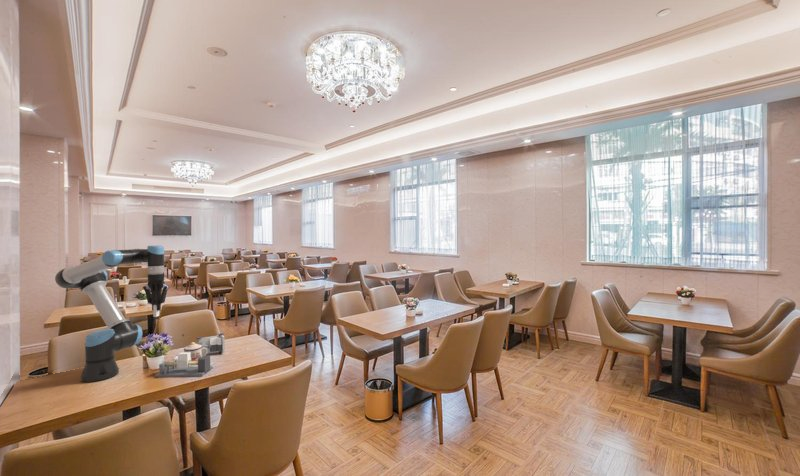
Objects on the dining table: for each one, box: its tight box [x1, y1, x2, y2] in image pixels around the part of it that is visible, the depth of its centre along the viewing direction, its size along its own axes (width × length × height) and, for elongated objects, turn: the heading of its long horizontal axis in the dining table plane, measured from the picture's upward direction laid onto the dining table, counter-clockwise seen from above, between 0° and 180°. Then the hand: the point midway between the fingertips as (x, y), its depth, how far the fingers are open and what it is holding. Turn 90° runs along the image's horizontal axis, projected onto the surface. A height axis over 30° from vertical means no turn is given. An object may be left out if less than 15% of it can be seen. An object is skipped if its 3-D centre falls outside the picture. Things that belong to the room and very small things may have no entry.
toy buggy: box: [195, 332, 226, 355], centre depth 215 cm, size 18×10×12 cm, turn 129°
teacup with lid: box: [183, 341, 208, 362], centre depth 205 cm, size 12×9×12 cm
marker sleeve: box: [177, 351, 192, 369], centre depth 189 cm, size 5×4×8 cm
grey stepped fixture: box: [155, 355, 214, 378], centre depth 189 cm, size 24×11×8 cm, turn 92°
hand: (156, 316), depth 193 cm, fingers closed
